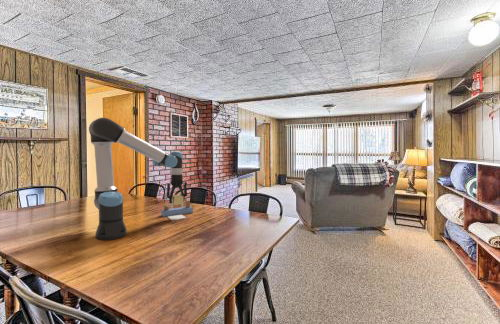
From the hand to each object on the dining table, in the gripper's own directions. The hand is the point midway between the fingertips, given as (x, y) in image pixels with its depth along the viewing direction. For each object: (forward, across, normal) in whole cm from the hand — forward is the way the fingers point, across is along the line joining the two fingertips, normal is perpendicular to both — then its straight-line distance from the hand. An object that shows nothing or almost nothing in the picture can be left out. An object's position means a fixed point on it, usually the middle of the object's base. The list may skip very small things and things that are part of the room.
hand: (177, 207), depth 176 cm
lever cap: (-3, 0, 0) cm, 3 cm away
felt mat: (+8, 0, 0) cm, 8 cm away
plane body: (+8, -4, -10) cm, 13 cm away
